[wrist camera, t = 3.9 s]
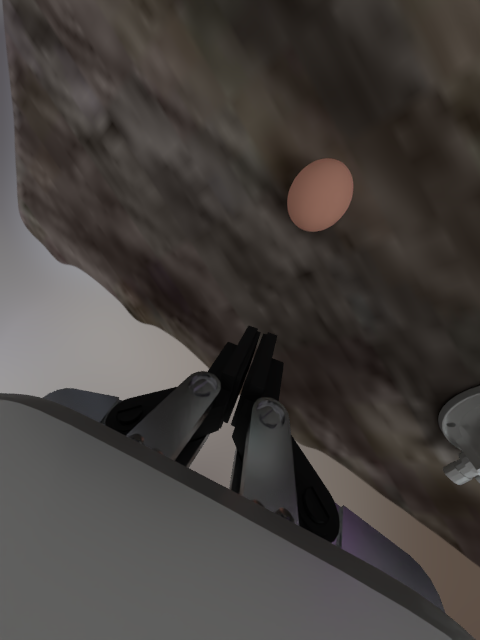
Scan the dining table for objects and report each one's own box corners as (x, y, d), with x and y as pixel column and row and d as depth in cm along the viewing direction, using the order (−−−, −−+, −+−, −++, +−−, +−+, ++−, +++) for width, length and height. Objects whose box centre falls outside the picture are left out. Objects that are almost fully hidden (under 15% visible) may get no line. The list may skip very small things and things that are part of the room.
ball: (331, 237, 20) (339, 238, 15) (282, 225, 21) (275, 223, 16) (357, 175, 17) (377, 153, 12) (300, 165, 18) (298, 140, 13)
